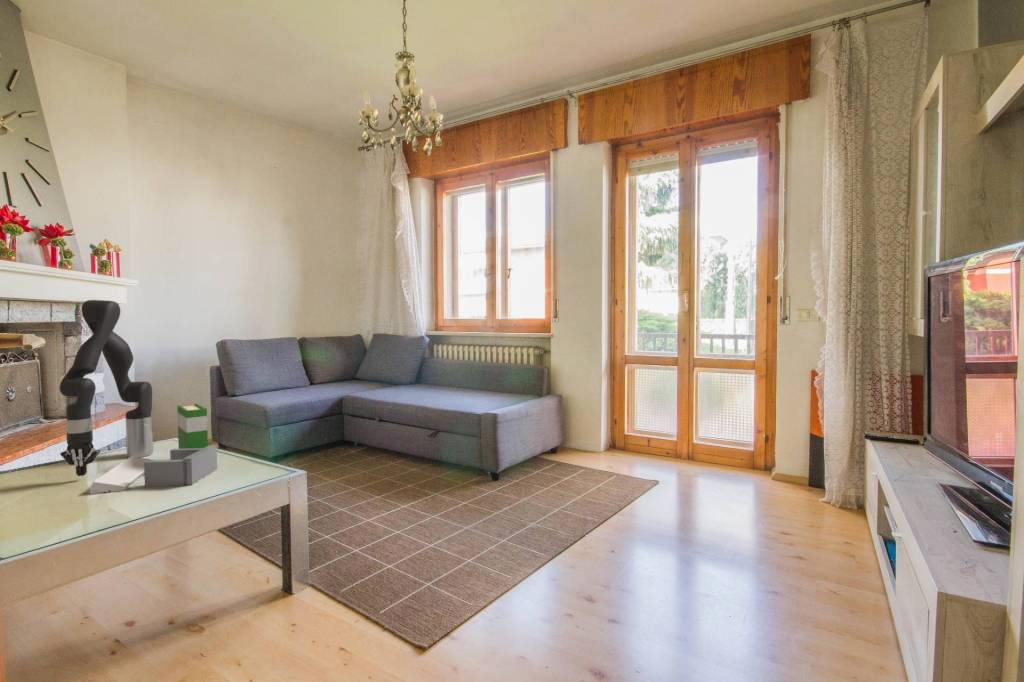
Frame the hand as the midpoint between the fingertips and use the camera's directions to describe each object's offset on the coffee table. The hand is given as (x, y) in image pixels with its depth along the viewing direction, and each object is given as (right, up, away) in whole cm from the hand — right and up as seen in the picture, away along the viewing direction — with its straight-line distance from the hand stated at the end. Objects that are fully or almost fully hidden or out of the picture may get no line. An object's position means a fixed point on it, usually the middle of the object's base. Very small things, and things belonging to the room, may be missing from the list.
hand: (81, 475), depth 192 cm
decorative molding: (+15, -3, +3) cm, 16 cm away
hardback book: (+28, -1, +24) cm, 37 cm away
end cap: (+36, -2, +4) cm, 36 cm away
